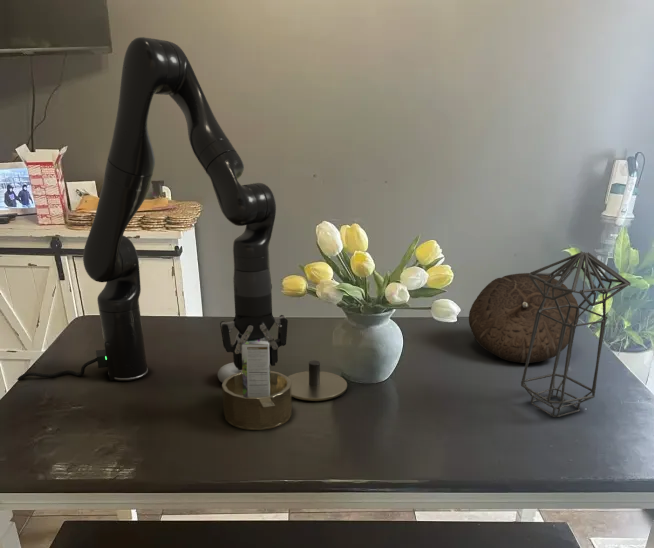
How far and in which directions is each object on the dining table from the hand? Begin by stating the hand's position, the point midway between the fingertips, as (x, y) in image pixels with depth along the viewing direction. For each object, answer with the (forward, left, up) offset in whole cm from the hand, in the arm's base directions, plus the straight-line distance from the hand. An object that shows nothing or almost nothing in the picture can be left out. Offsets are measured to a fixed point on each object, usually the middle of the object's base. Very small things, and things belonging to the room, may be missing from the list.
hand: (256, 366), depth 143 cm
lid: (+16, +9, -11) cm, 21 cm away
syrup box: (0, 0, -8) cm, 8 cm away
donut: (0, +19, -12) cm, 22 cm away
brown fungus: (+77, +16, -12) cm, 79 cm away
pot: (0, 0, -11) cm, 11 cm away
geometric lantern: (+65, -17, -12) cm, 68 cm away
